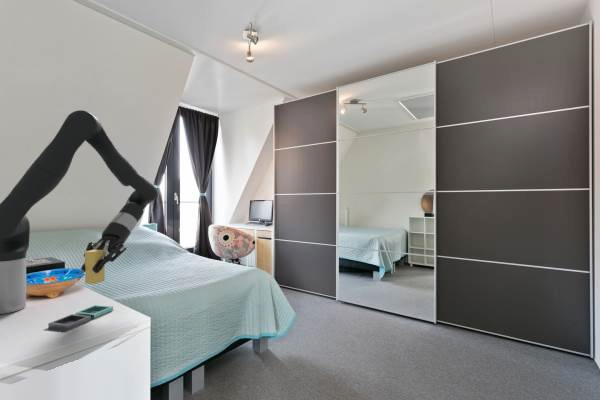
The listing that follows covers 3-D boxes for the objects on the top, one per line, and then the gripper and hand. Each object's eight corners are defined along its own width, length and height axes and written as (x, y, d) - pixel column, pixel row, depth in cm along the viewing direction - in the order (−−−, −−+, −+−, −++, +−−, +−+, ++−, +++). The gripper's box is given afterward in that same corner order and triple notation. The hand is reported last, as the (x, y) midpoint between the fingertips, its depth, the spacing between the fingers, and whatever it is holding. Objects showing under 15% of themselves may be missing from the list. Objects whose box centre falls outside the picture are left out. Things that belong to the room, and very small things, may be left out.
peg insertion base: (42, 334, 83) (42, 325, 83) (96, 311, 99) (96, 304, 99) (63, 336, 81) (63, 328, 81) (114, 313, 98) (114, 306, 98)
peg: (85, 283, 93) (84, 251, 93) (95, 280, 97) (95, 249, 97) (94, 284, 92) (94, 251, 92) (104, 280, 96) (104, 249, 96)
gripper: (96, 221, 103) (62, 263, 91) (131, 221, 100) (100, 265, 88) (109, 234, 108) (78, 276, 97) (143, 235, 105) (115, 278, 94)
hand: (89, 271), depth 93 cm, fingers closed on peg, 3 cm apart
